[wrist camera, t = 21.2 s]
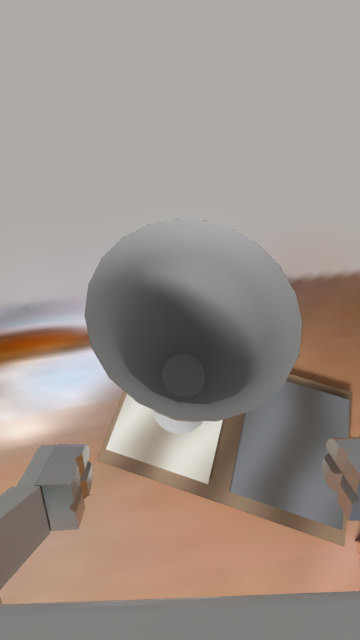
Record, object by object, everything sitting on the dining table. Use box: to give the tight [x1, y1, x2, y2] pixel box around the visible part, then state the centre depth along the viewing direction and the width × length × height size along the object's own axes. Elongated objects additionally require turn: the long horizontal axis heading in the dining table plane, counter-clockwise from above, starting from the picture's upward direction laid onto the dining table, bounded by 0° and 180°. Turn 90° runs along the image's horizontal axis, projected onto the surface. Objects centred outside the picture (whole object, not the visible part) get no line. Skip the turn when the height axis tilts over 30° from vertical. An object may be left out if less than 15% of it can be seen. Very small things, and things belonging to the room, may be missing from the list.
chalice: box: [85, 219, 302, 434], centre depth 18 cm, size 7×7×18 cm
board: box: [97, 374, 352, 546], centre depth 26 cm, size 20×12×2 cm, turn 73°
